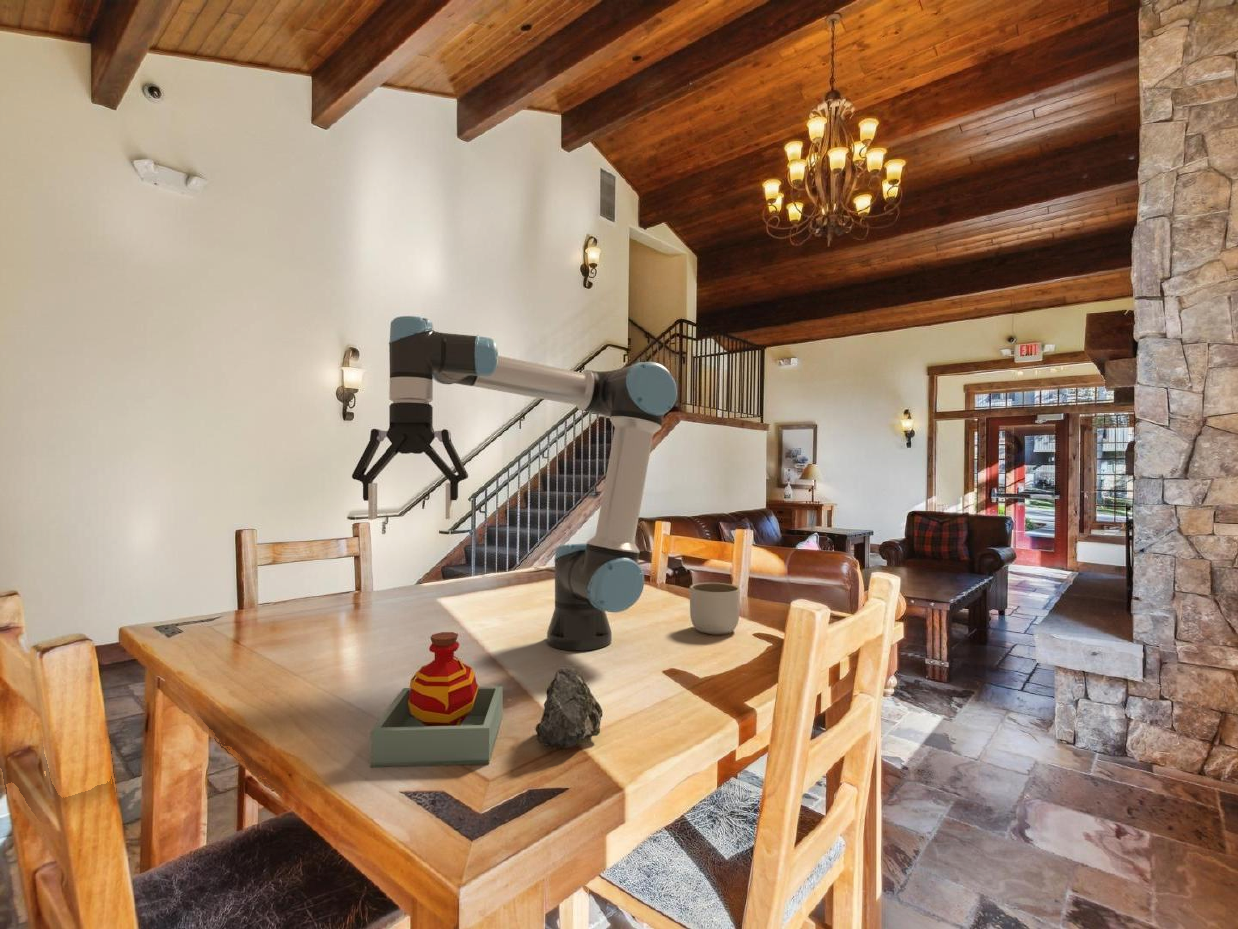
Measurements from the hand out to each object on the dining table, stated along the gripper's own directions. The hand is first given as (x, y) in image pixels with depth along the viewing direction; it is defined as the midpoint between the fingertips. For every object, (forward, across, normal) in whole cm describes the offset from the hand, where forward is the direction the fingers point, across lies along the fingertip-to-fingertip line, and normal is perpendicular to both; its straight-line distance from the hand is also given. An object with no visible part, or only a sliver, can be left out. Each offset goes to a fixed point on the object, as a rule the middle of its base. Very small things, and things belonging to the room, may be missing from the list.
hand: (411, 519), depth 112 cm
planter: (+32, -66, -36) cm, 81 cm away
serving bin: (+31, -10, +21) cm, 39 cm away
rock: (+32, -29, +24) cm, 49 cm away
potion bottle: (+31, -10, +21) cm, 39 cm away
